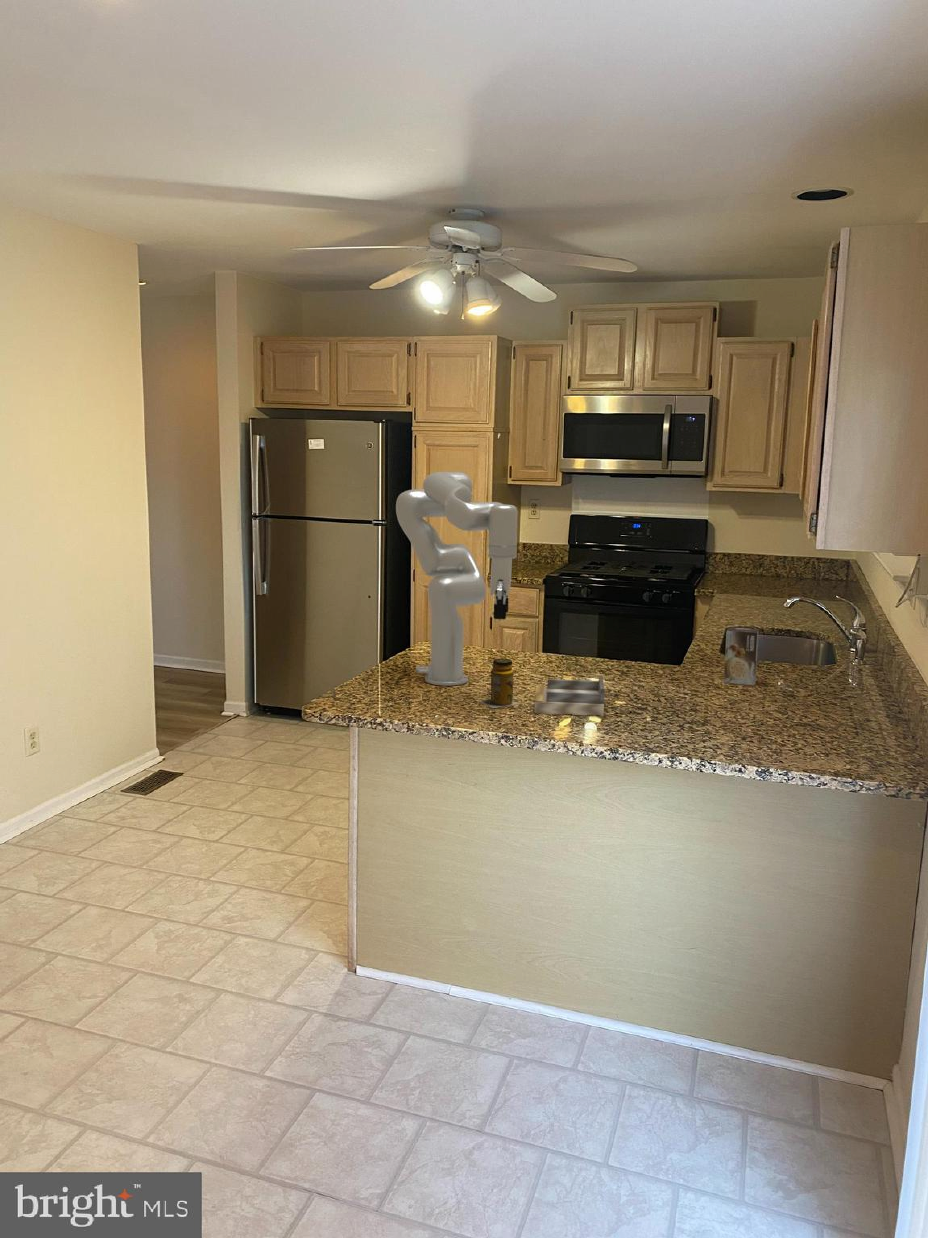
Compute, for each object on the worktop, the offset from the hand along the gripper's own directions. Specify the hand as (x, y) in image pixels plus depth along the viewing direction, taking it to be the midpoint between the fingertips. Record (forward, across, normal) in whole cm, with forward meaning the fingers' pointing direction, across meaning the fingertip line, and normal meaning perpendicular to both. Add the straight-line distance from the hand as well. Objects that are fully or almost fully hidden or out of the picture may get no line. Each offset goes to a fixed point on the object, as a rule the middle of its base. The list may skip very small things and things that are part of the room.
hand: (501, 615), depth 248 cm
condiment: (+24, 0, 0) cm, 25 cm away
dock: (+24, 0, +19) cm, 31 cm away
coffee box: (+24, -34, +70) cm, 81 cm away
